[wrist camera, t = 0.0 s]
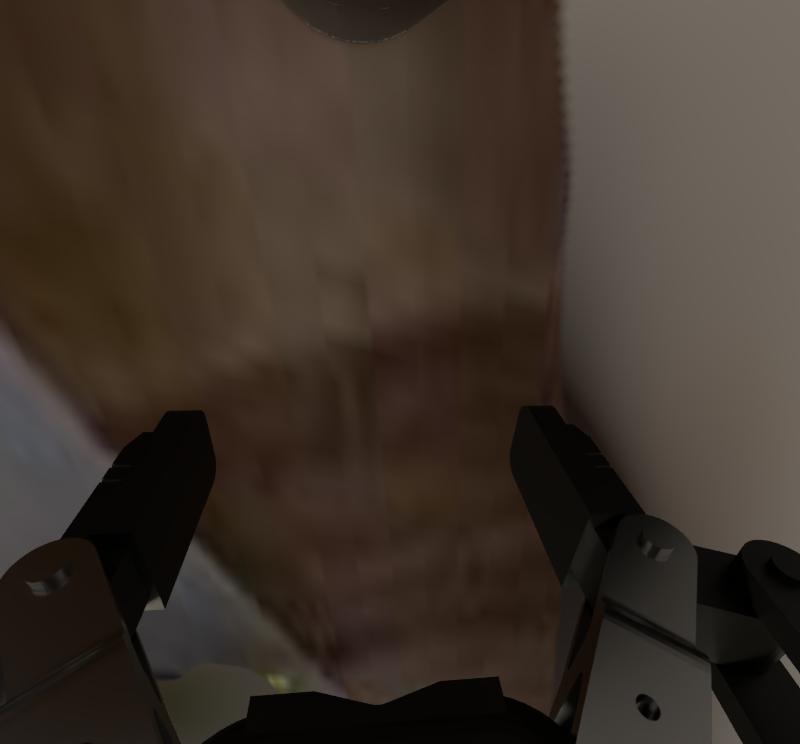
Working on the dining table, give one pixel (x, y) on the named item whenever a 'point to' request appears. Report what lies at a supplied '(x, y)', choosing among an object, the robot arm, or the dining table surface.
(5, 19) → the dining table surface
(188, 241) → the dining table surface
